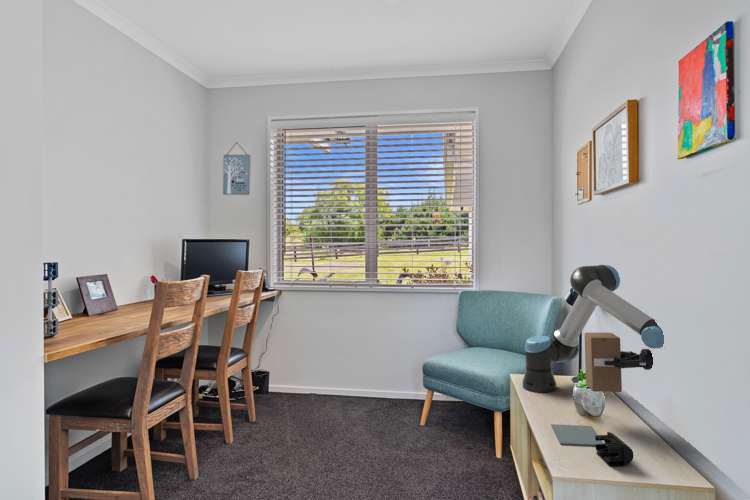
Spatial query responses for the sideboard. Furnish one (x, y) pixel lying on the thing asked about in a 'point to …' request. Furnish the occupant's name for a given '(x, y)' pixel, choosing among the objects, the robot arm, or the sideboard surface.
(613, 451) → the black rounded block
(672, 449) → the sideboard surface
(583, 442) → the mat
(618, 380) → the wooden block
